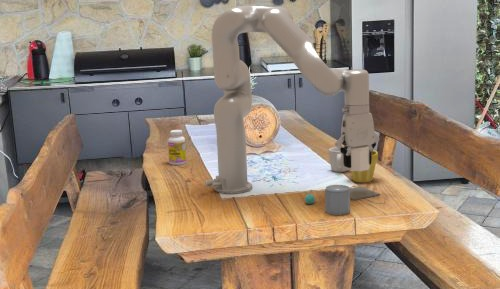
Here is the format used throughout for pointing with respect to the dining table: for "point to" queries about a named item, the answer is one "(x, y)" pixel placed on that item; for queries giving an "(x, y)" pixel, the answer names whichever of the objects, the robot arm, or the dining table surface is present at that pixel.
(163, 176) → the dining table surface
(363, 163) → the beaker
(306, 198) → the ball
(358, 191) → the coaster
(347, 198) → the beaker
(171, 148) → the supplement bottle
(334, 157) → the cup
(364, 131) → the robot arm
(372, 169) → the plant pot
